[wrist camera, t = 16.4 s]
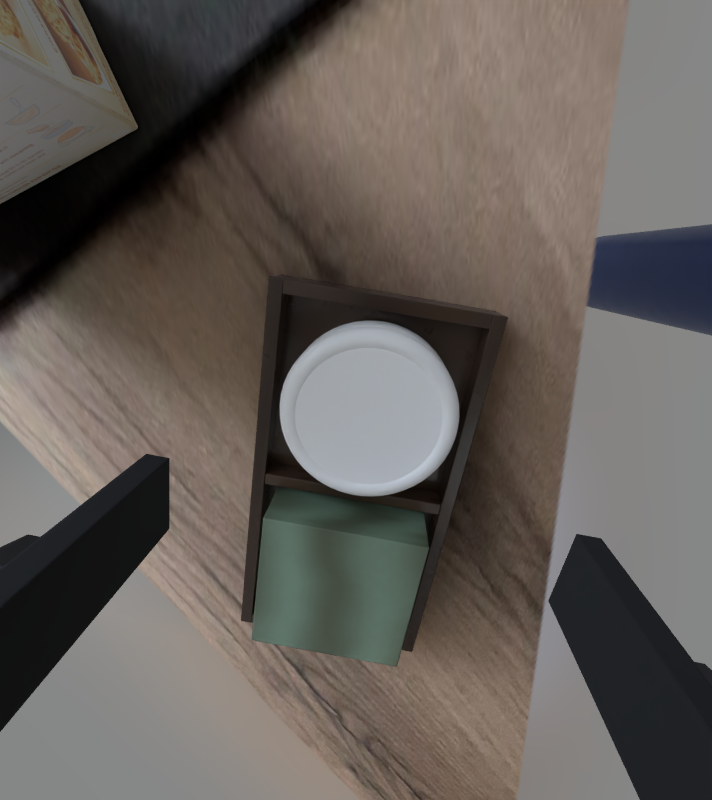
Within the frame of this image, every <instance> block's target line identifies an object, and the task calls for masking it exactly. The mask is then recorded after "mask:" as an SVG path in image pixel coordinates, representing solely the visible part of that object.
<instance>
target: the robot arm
mask: <svg viewBox="0 0 712 800" xmlns="http://www.w3.org/2000/svg"><path fill="white" fill-rule="evenodd" d="M168 529H169V458H165V457H160V456H154V455H149V454H146V455H144V456H143V457H142V458H140V459H139V460H138V461H137V462H135V463H134V464H133V465H132V466H130V467H129V468H128V469H126V470H125V471H124V472H123V473H121V474H120V475H119V476H118V477H116V478H115V479H114V480H112V481H111V482H110V483H109V484H107V485H106V486H105V487H104V488H102V489H101V490H100V491H98V492H97V493H96V494H95V495H93V496H92V497H91V498H90V499H88V500H87V501H86V502H84V503H83V504H82V505H81V506H79V507H78V508H77V509H76V510H74V511H73V512H72V513H71V514H69V515H68V516H67V517H65V518H64V519H63V520H62V521H60V522H59V523H58V524H56V525H55V526H54V527H53V528H52V529H50V530H49V531H48V532H46V533H45V534H44V535H42V536H41V537H38V536H33V535H26V536H24V537H22V538H19V539H17V540H15V541H13V542H11V543H8V544H7V545H4V546H2V547H0V731H1V730H2V729H3V728H4V726H5V725H6V724H7V723H8V722H9V721H10V719H11V718H12V717H13V716H14V715H15V713H16V712H17V711H18V710H19V708H20V707H21V706H22V705H23V704H24V702H25V701H26V700H27V699H28V698H29V697H30V695H31V694H32V693H33V692H34V691H35V689H36V688H37V687H38V686H39V685H40V683H41V682H42V681H43V679H44V678H45V677H46V676H47V675H48V674H49V672H50V671H51V670H52V669H53V668H54V667H55V665H56V664H57V663H58V662H59V660H60V659H61V658H62V657H63V656H64V654H65V653H66V652H67V651H68V650H69V648H70V647H71V646H72V645H73V644H74V642H75V641H76V640H77V639H78V638H79V636H80V635H81V634H82V633H83V632H84V630H85V629H86V628H87V627H88V626H89V624H90V623H91V622H92V621H93V620H94V618H95V617H96V616H97V615H98V614H99V612H100V611H101V610H102V609H103V608H104V606H105V605H106V604H107V603H108V602H109V600H110V599H111V598H112V597H113V595H114V594H115V593H116V592H117V591H118V590H119V588H120V587H121V586H122V585H123V583H124V582H125V581H126V580H127V579H128V578H129V576H130V575H131V574H132V573H133V571H134V570H135V569H136V568H137V567H138V566H139V564H140V563H141V562H142V561H143V560H144V558H145V557H146V556H147V555H148V553H149V552H150V551H151V550H152V549H153V547H154V546H155V545H156V544H157V543H158V541H159V540H160V539H161V538H162V537H163V535H164V534H165V533H166V532H167V531H168ZM549 603H550V605H551V607H552V609H553V612H554V614H555V616H556V618H557V620H558V623H559V625H560V627H561V629H562V631H563V634H564V636H565V638H566V640H567V642H568V644H569V647H570V649H571V651H572V653H573V655H574V657H575V659H576V662H577V664H578V666H579V668H580V670H581V673H582V675H583V677H584V679H585V681H586V683H587V686H588V688H589V690H590V692H591V694H592V696H593V699H594V701H595V703H596V705H597V707H598V710H599V712H600V714H601V716H602V718H603V720H604V723H605V725H606V727H607V729H608V731H609V733H610V736H611V737H612V740H613V742H614V744H615V747H616V748H617V751H618V753H619V755H620V757H621V760H622V762H623V764H624V766H625V768H626V770H627V773H628V775H629V777H630V779H631V781H632V783H633V786H634V788H635V790H636V792H637V794H638V797H639V799H640V800H712V670H711V669H710V668H708V667H707V666H706V665H705V664H702V663H697V662H694V661H693V660H692V659H691V657H690V656H689V655H688V653H687V652H686V651H685V649H684V648H683V647H682V645H681V644H680V643H679V641H678V640H677V639H676V637H675V636H674V635H673V634H672V632H671V631H670V629H669V628H668V627H667V625H666V624H665V623H664V621H663V620H662V619H661V617H660V616H659V615H658V613H657V612H656V611H655V610H654V608H653V607H652V606H651V604H650V603H649V601H648V600H647V599H646V598H645V596H644V595H643V594H642V592H641V591H640V590H639V588H638V587H637V586H636V584H635V583H634V582H633V580H632V579H631V578H630V576H629V575H628V574H627V572H626V571H625V570H624V568H623V567H622V566H621V564H620V563H619V562H618V560H617V559H616V558H615V556H614V555H613V554H612V552H611V551H610V550H609V548H608V547H607V546H606V544H605V543H604V542H603V540H602V539H601V538H595V537H590V536H585V535H579V534H576V537H575V539H574V541H573V544H572V546H571V549H570V551H569V553H568V556H567V558H566V561H565V563H564V565H563V567H562V570H561V572H560V575H559V577H558V579H557V582H556V584H555V587H554V589H553V592H552V594H551V596H550V598H549Z"/></svg>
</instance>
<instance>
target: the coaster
mask: <svg viewBox="0 0 712 800" xmlns="http://www.w3.org/2000/svg"><path fill="white" fill-rule="evenodd" d="M280 421H281V427H282V431H283V434H284V437H285V440H286V443H287V445H288V447H289V449H290V451H291V452H292V454H293V455H294V457H295V458H296V460H297V461H298V462H299V464H300V465H301V466H302V467H303V468H304V469H305V470H306V471H307V472H308V473H309V474H310V475H311V476H313V477H314V478H316V479H317V480H318V481H320V482H321V483H323V484H325V485H327V486H329V487H330V488H333V489H335V490H338V491H340V492H344V493H348V494H351V495H358V496H384V495H389V494H394V493H397V492H401V491H404V490H406V489H408V488H411V487H413V486H415V485H417V484H418V483H420V482H422V481H423V480H425V479H426V478H427V477H429V476H430V475H431V474H432V473H433V472H434V471H435V470H436V469H437V468H438V467H439V466H440V465H441V464H442V462H443V461H444V460H445V458H446V457H447V455H448V453H449V452H450V450H451V448H452V445H453V443H454V441H455V437H456V434H457V430H458V424H459V401H458V396H457V392H456V389H455V386H454V383H453V380H452V378H451V376H450V374H449V372H448V370H447V369H446V367H445V365H444V363H443V361H442V360H441V358H440V357H439V355H438V354H437V352H436V351H435V350H434V349H433V348H432V347H431V346H430V345H429V344H428V343H427V342H426V341H425V340H424V339H422V338H421V337H420V336H419V335H417V334H415V333H414V332H412V331H410V330H409V329H406V328H404V327H402V326H399V325H396V324H393V323H389V322H384V321H376V320H364V321H356V322H351V323H348V324H344V325H341V326H339V327H336V328H334V329H332V330H330V331H328V332H326V333H324V334H323V335H322V336H320V337H319V338H317V339H316V340H315V341H314V342H313V343H312V344H311V345H310V346H308V348H307V349H306V350H305V351H304V352H303V353H302V354H301V355H300V357H299V358H298V359H297V360H296V362H295V363H294V364H293V366H292V367H291V369H290V371H289V372H288V374H287V377H286V379H285V381H284V384H283V388H282V392H281V397H280Z"/></svg>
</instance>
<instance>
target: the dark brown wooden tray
mask: <svg viewBox="0 0 712 800" xmlns="http://www.w3.org/2000/svg"><path fill="white" fill-rule="evenodd" d="M507 319H508V317H507V316H504V315H502V314H500V313H498V312H496V311H493V310H487V309H481V308H475V307H469V306H463V305H457V304H452V303H446V302H440V301H434V300H428V299H422V298H417V297H411V296H405V295H399V294H393V293H387V292H381V291H376V290H370V289H364V288H358V287H352V286H346V285H340V284H335V283H329V282H323V281H317V280H311V279H305V278H300V277H294V276H288V275H275V276H269V284H268V296H267V308H266V321H265V333H264V345H263V357H262V370H261V382H260V394H259V407H258V419H257V431H256V443H255V456H254V468H253V480H252V492H251V505H250V517H249V529H248V542H247V554H246V566H245V578H244V591H243V603H242V615H241V621H245V622H252V623H253V631H252V640H254V641H260V642H265V643H270V644H276V645H281V646H287V647H292V648H298V649H303V650H309V651H314V652H319V653H325V654H330V655H336V656H341V657H347V658H352V659H358V660H363V661H368V662H374V663H379V664H385V665H390V666H397V664H398V661H399V657H400V653H401V650H404V651H410V652H412V651H413V647H414V644H415V640H416V637H417V633H418V630H419V626H420V623H421V619H422V616H423V612H424V609H425V605H426V602H427V598H428V595H429V591H430V588H431V584H432V581H433V577H434V574H435V570H436V567H437V563H438V560H439V556H440V553H441V549H442V546H443V542H444V539H445V535H446V532H447V529H448V525H449V522H450V518H451V515H452V511H453V508H454V504H455V501H456V497H457V494H458V490H459V487H460V483H461V480H462V476H463V473H464V469H465V466H466V462H467V459H468V455H469V452H470V448H471V445H472V441H473V438H474V434H475V431H476V427H477V424H478V420H479V417H480V413H481V410H482V406H483V403H484V400H485V396H486V393H487V389H488V386H489V382H490V379H491V375H492V372H493V368H494V365H495V361H496V358H497V354H498V351H499V347H500V344H501V340H502V337H503V333H504V330H505V326H506V323H507ZM364 320H376V321H384V322H389V323H393V324H396V325H399V326H402V327H404V328H406V329H409V330H410V331H412V332H414V333H415V334H417V335H419V336H420V337H421V338H422V339H424V340H425V341H426V342H427V343H428V344H429V345H430V346H431V347H432V348H433V349H434V350H435V351H436V352H437V354H438V355H439V357H440V358H441V360H442V361H443V363H444V365H445V367H446V369H447V370H448V372H449V374H450V376H451V378H452V380H453V383H454V386H455V389H456V392H457V396H458V401H459V424H458V430H457V434H456V437H455V441H454V443H453V445H452V448H451V450H450V452H449V453H448V455H447V457H446V458H445V460H444V461H443V462H442V464H441V465H440V466H439V467H438V468H437V469H436V470H435V471H434V472H433V473H432V474H431V475H430V476H429V477H427V478H426V479H425V480H423V481H422V482H420V483H418V484H417V485H415V486H413V487H411V488H408V489H406V490H404V491H401V492H397V493H394V494H389V495H384V496H358V495H351V494H348V493H344V492H340V491H338V490H335V489H333V488H330V487H329V486H327V485H325V484H323V483H321V482H320V481H318V480H317V479H316V478H314V477H313V476H311V475H310V474H309V473H308V472H307V471H306V470H305V469H304V468H303V467H302V466H301V465H300V464H299V462H298V461H297V460H296V458H295V457H294V455H293V454H292V452H291V451H290V449H289V447H288V445H287V443H286V440H285V437H284V434H283V431H282V427H281V421H280V397H281V392H282V388H283V384H284V381H285V379H286V377H287V374H288V372H289V371H290V369H291V367H292V366H293V364H294V363H295V362H296V360H297V359H298V358H299V357H300V355H301V354H302V353H303V352H304V351H305V350H306V349H307V348H308V346H310V345H311V344H312V343H313V342H314V341H315V340H316V339H317V338H319V337H320V336H322V335H323V334H324V333H326V332H328V331H330V330H332V329H334V328H336V327H339V326H341V325H344V324H348V323H351V322H356V321H364Z"/></svg>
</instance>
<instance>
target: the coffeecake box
mask: <svg viewBox="0 0 712 800" xmlns="http://www.w3.org/2000/svg"><path fill="white" fill-rule="evenodd" d="M137 128H138V126H137V124H136V122H135V119H134V117H133V115H132V113H131V111H130V109H129V107H128V105H127V103H126V101H125V99H124V96H123V94H122V92H121V90H120V88H119V86H118V84H117V82H116V80H115V77H114V75H113V73H112V71H111V69H110V67H109V64H108V62H107V60H106V58H105V56H104V54H103V52H102V50H101V48H100V46H99V43H98V41H97V38H96V36H95V33H94V31H93V29H92V27H91V25H90V23H89V21H88V19H87V17H86V15H85V12H84V10H83V8H82V6H81V4H80V2H79V0H0V204H1V203H3V202H5V201H7V200H9V199H10V198H12V197H14V196H16V195H18V194H19V193H21V192H23V191H25V190H27V189H29V188H30V187H32V186H34V185H36V184H38V183H40V182H42V181H43V180H45V179H47V178H49V177H51V176H52V175H54V174H56V173H58V172H60V171H62V170H63V169H65V168H67V167H69V166H70V165H72V164H74V163H76V162H78V161H80V160H82V159H83V158H85V157H87V156H89V155H91V154H92V153H94V152H96V151H98V150H100V149H102V148H104V147H105V146H107V145H109V144H111V143H113V142H114V141H116V140H118V139H120V138H122V137H123V136H125V135H127V134H129V133H131V132H133V131H135V130H136V129H137Z"/></svg>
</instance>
